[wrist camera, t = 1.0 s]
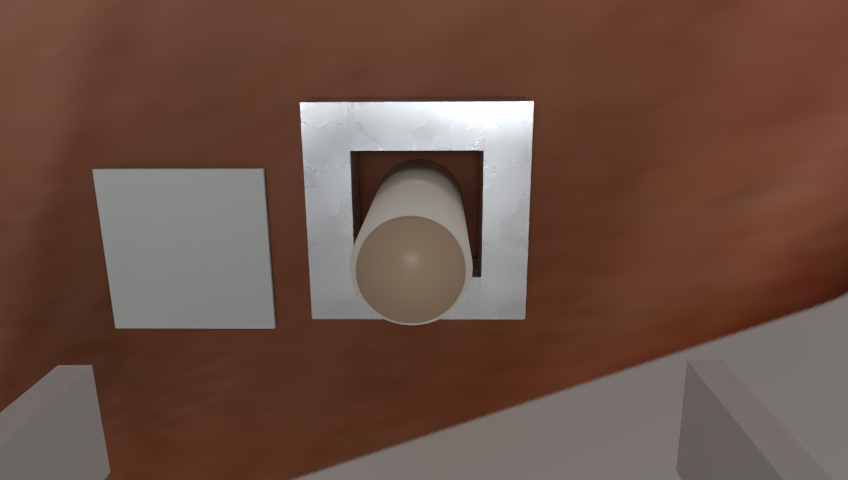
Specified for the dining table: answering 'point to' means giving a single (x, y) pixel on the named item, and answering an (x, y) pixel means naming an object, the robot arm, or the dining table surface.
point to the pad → (187, 247)
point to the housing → (418, 131)
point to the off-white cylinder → (413, 246)
